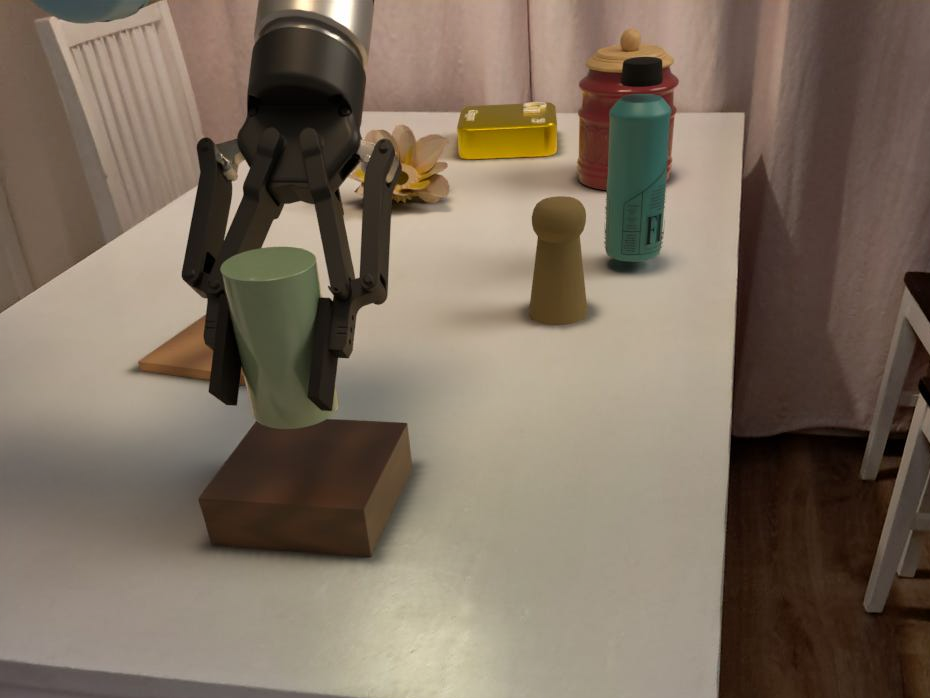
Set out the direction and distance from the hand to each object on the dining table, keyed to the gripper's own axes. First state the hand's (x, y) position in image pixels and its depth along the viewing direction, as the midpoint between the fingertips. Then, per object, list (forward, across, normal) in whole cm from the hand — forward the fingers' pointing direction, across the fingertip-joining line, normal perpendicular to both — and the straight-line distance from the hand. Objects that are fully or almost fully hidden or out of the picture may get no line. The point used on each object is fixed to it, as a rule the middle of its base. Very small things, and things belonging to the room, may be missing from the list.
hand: (271, 401), depth 60 cm
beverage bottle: (-31, -20, -46) cm, 59 cm away
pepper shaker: (-21, -14, -36) cm, 44 cm away
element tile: (-67, +2, -82) cm, 106 cm away
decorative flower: (-46, +12, -61) cm, 78 cm away
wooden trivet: (-13, +18, -28) cm, 36 cm away
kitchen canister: (-55, -17, -70) cm, 90 cm away
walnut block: (+5, 0, -10) cm, 11 cm away
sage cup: (-1, 0, -4) cm, 4 cm away
